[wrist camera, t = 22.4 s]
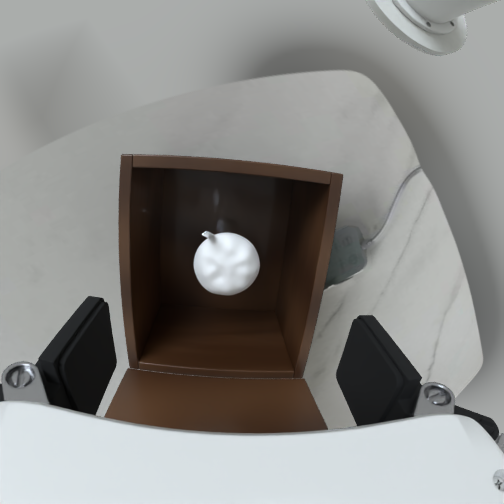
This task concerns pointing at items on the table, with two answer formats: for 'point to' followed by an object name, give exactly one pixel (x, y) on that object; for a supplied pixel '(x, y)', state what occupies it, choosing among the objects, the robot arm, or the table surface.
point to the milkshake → (226, 259)
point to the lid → (215, 403)
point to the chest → (186, 282)
